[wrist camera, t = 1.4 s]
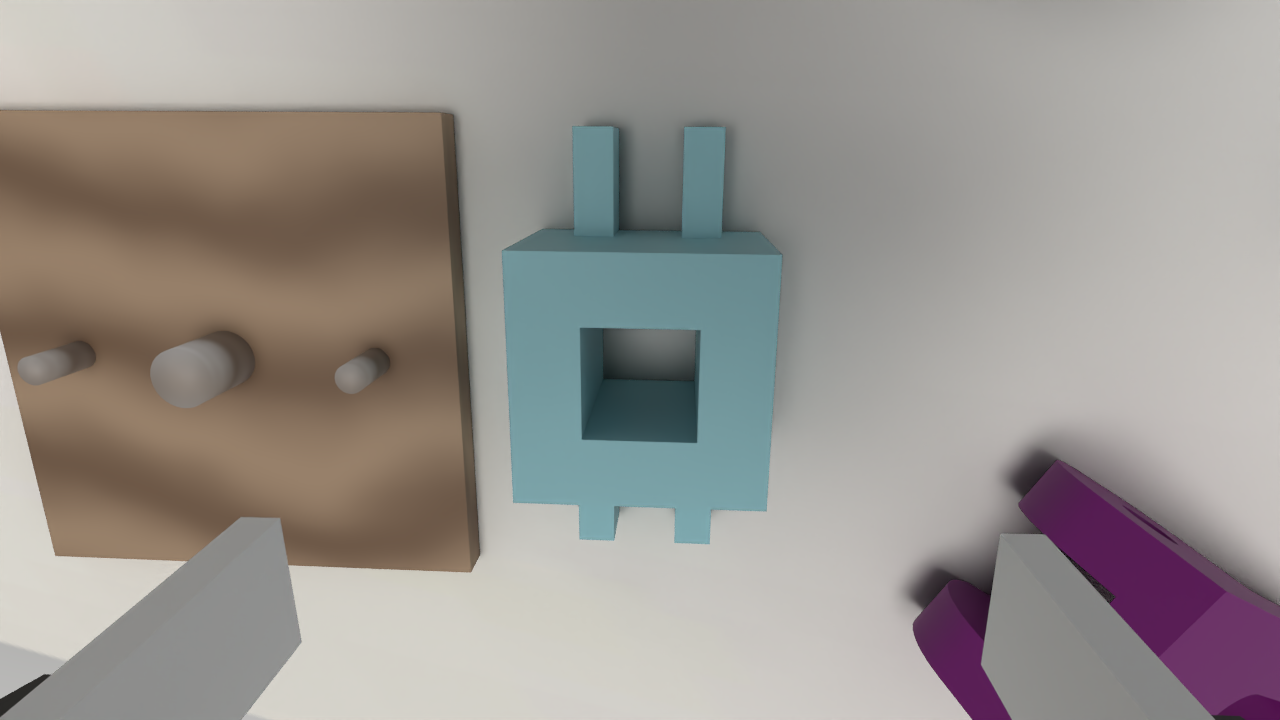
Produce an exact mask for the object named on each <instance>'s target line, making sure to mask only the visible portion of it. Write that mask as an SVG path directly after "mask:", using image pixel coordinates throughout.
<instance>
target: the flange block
mask: <svg viewBox="0 0 1280 720" xmlns="http://www.w3.org/2000/svg"><path fill="white" fill-rule="evenodd" d="M572 130H573V188H574V229H542V230H540V231H538V232H536V233H534V234H532V235H530V236H528V237H527V238H525V239H523V240H521V241H519V242H517V243H515V244H513V245H512V246H510V247H508V248H506V249H504V250H502V265H503V287H504V309H505V331H506V353H507V375H508V397H509V419H510V441H511V463H512V485H513V503H538V504H567V505H579V532H580V539H586V540H613V541H614V539H615V533H616V528H617V522H618V516H619V506H625V507H654V508H675V542H674V543H693V544H710V519H711V510H740V511H767V495H768V479H769V463H770V447H771V431H772V415H773V399H774V383H775V367H776V351H777V335H778V319H779V303H780V287H781V271H782V254H781V253H780V252H779V251H778V250H777V249H776V248H775V247H774V246H773V245H772V244H771V243H770V242H769V241H768V240H767V239H766V238H765V237H764V236H763V235H762V234H761V233H760V232H729V231H722V210H723V184H724V158H725V133H726V127H684V161H683V203H682V231H656V230H619V129H618V128H616V127H613V126H572ZM603 328H627V329H674V330H696V342H695V376H694V381H662V380H622V379H603Z"/></svg>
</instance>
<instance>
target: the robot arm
mask: <svg viewBox="0 0 1280 720" xmlns="http://www.w3.org/2000/svg"><path fill="white" fill-rule="evenodd" d="M301 642H302V641H301V635H300V630H299V624H298V618H297V612H296V607H295V601H294V595H293V589H292V584H291V578H290V572H289V567H288V561H287V555H286V549H285V544H284V538H283V532H282V526H281V521H280V518H258V517H240V518H239V519H238V520H237V521H236V522H234V523H233V524H232V525H231V526H230V527H228V528H227V529H226V530H225V531H224V532H222V533H221V534H220V535H219V536H218V537H216V538H215V539H214V540H213V541H212V542H210V543H209V544H208V545H207V546H206V547H204V548H203V549H202V550H201V551H200V552H198V553H197V554H196V555H195V556H193V557H192V558H191V559H190V560H189V561H187V562H186V563H185V564H184V565H183V566H181V567H180V568H179V569H178V570H177V571H175V572H174V573H173V574H172V575H171V576H169V577H168V578H167V579H166V580H165V581H163V582H162V583H161V584H160V585H159V586H157V587H156V588H155V589H154V590H153V591H151V592H150V593H149V594H148V595H147V596H145V597H144V598H143V599H142V600H141V601H139V602H138V603H137V604H136V605H135V606H133V607H132V608H131V609H130V610H129V611H127V612H126V613H125V614H124V615H123V616H121V617H120V618H119V619H118V620H117V621H115V622H114V623H113V624H112V625H111V626H109V627H108V628H107V629H106V630H105V631H103V632H102V633H101V634H100V635H99V636H97V637H96V638H95V639H94V640H93V641H91V642H90V643H89V644H88V645H87V646H85V647H84V648H83V649H82V650H81V651H79V652H78V653H77V654H76V655H75V656H73V657H72V658H71V659H70V660H69V661H67V662H66V663H65V664H64V665H63V666H61V667H60V668H59V669H58V670H57V671H55V672H54V673H53V674H52V675H46V674H45V675H42V676H41V677H39V678H37V679H35V680H33V681H32V682H30V683H28V684H26V685H24V686H23V687H21V688H19V689H17V690H16V691H14V692H12V693H10V694H8V695H7V696H5V697H3V698H1V699H0V720H241V719H242V718H243V717H244V716H245V714H246V713H247V712H248V711H249V709H250V708H251V707H252V705H253V704H254V703H255V702H256V700H257V699H258V698H259V696H260V695H261V694H262V693H263V691H264V690H265V689H266V687H267V686H268V685H269V684H270V682H271V681H272V680H273V678H274V677H275V676H276V675H277V673H278V672H279V671H280V669H281V668H282V667H283V666H284V664H285V663H286V662H287V660H288V659H289V658H290V656H291V655H292V654H293V653H294V651H295V650H296V649H297V647H298V646H299V645H300V644H301ZM981 666H982V667H983V669H984V671H985V673H986V674H987V676H988V678H989V680H990V682H991V683H992V685H993V687H994V689H995V690H996V692H997V694H998V696H999V698H1000V699H1001V701H1002V703H1003V705H1004V706H1005V708H1006V710H1007V712H1008V714H1009V715H1010V717H1011V719H1012V720H1245V719H1244V718H1242V717H1241V716H1226V715H1210V713H1209V712H1208V711H1207V710H1206V709H1205V708H1204V707H1203V706H1202V705H1201V704H1200V703H1199V701H1198V700H1197V699H1196V698H1195V697H1194V696H1193V695H1192V694H1191V693H1190V692H1189V691H1188V689H1187V688H1186V687H1185V686H1184V685H1183V684H1182V683H1181V682H1180V681H1179V680H1178V679H1177V677H1176V676H1175V675H1174V674H1173V673H1172V672H1171V671H1170V670H1169V669H1168V668H1167V667H1166V665H1165V664H1164V663H1163V662H1162V661H1161V660H1160V659H1159V658H1158V657H1157V656H1156V655H1155V653H1154V652H1153V651H1152V650H1151V649H1150V648H1149V647H1148V646H1147V645H1146V644H1145V643H1144V641H1143V640H1142V639H1141V638H1140V637H1139V636H1138V635H1137V634H1136V633H1135V632H1134V631H1133V629H1132V628H1131V627H1130V626H1129V625H1128V624H1127V623H1126V622H1125V621H1124V620H1123V619H1122V617H1121V616H1120V615H1119V614H1118V613H1117V612H1116V611H1115V610H1114V609H1113V608H1112V607H1111V606H1110V604H1109V603H1108V602H1107V601H1106V600H1105V599H1104V598H1103V597H1102V596H1101V595H1100V594H1099V592H1098V591H1097V590H1096V589H1095V588H1094V587H1093V586H1092V585H1091V584H1090V583H1089V582H1088V580H1087V579H1086V578H1085V577H1084V576H1083V575H1082V574H1081V573H1080V572H1079V571H1078V570H1077V568H1076V567H1075V566H1074V565H1073V564H1072V563H1071V562H1070V561H1069V560H1068V559H1067V558H1066V556H1065V555H1064V554H1063V553H1062V552H1061V551H1060V550H1059V549H1058V548H1057V547H1056V546H1055V544H1054V543H1053V542H1052V541H1051V540H1050V539H1049V538H1048V537H1047V536H1046V535H1045V534H1005V533H1000V538H999V545H998V552H997V559H996V566H995V572H994V579H993V586H992V593H991V600H990V606H989V613H988V620H987V627H986V633H985V640H984V647H983V654H982V661H981Z"/></svg>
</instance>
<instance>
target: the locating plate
mask: <svg viewBox="0 0 1280 720" xmlns="http://www.w3.org/2000/svg"><path fill="white" fill-rule="evenodd" d="M0 332H1V336H2V340H3V344H4V348H5V352H6V356H7V361H8V365H9V369H10V373H11V377H12V381H13V385H14V389H15V393H16V397H17V401H18V405H19V409H20V413H21V418H22V422H23V426H24V430H25V434H26V438H27V442H28V446H29V450H30V454H31V458H32V462H33V466H34V471H35V475H36V479H37V483H38V487H39V491H40V495H41V499H42V503H43V507H44V511H45V515H46V519H47V523H48V528H49V532H50V536H51V540H52V544H53V548H54V552H55V556H72V557H97V558H122V559H147V560H172V561H189V560H190V559H191V558H192V557H193V556H195V555H196V554H197V553H198V552H200V551H201V550H202V549H203V548H204V547H206V546H207V545H208V544H209V543H210V542H212V541H213V540H214V539H215V538H216V537H218V536H219V535H220V534H221V533H222V532H224V531H225V530H226V529H227V528H228V527H230V526H231V525H232V524H233V523H234V522H236V521H237V520H238V519H239V518H240V517H258V518H280V521H281V526H282V532H283V538H284V544H285V549H286V555H287V561H288V565H297V566H322V567H347V568H372V569H398V570H423V571H448V572H471V571H472V569H473V568H474V566H475V564H476V562H477V560H478V558H479V556H480V549H479V532H478V516H477V499H476V483H475V467H474V450H473V434H472V417H471V401H470V384H469V368H468V352H467V335H466V319H465V302H464V286H463V269H462V253H461V237H460V220H459V204H458V187H457V171H456V154H455V138H454V122H453V115H452V114H446V113H423V112H226V111H28V110H0Z"/></svg>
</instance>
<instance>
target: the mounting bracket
mask: <svg viewBox="0 0 1280 720" xmlns="http://www.w3.org/2000/svg"><path fill="white" fill-rule="evenodd" d="M1018 505H1019V507H1020V509H1021V510H1022V512H1023V513H1024V514H1025V515H1026V517H1027V518H1028V519H1029V520H1030V521H1031V522H1032V523H1033V524H1034V525H1035V526H1036V527H1037V528H1038V529H1039V530H1040V531H1041V532H1042V533H1043V534H1045V535H1046V536H1047V537H1048V538H1049V539H1050V540H1051V541H1052V542H1053V543H1054V544H1056V545H1057V546H1058V547H1059V548H1060V549H1061V550H1062V551H1064V552H1065V553H1066V554H1067V555H1068V556H1069V557H1070V558H1072V559H1073V560H1074V561H1075V562H1076V563H1077V564H1078V565H1080V566H1081V567H1082V568H1083V569H1084V570H1085V571H1087V572H1088V573H1089V574H1090V575H1091V576H1092V577H1093V578H1095V579H1096V580H1097V581H1098V582H1099V583H1100V584H1102V585H1103V586H1104V587H1105V588H1106V589H1107V590H1108V591H1110V592H1111V593H1112V594H1113V595H1114V596H1115V598H1114V600H1113V601H1112V602H1111V603H1110V606H1111V607H1112V608H1113V609H1114V610H1115V611H1116V612H1117V613H1118V614H1119V615H1120V616H1121V617H1122V619H1123V620H1124V621H1125V622H1126V623H1127V624H1128V625H1129V626H1130V627H1131V628H1132V629H1133V631H1134V632H1135V633H1136V634H1137V635H1138V636H1139V637H1140V638H1141V639H1142V640H1143V641H1144V643H1145V644H1146V645H1147V646H1148V647H1149V648H1150V649H1151V650H1152V651H1153V652H1154V653H1155V655H1156V656H1157V657H1158V658H1159V659H1160V660H1161V661H1162V662H1163V663H1164V664H1165V665H1166V667H1167V668H1168V669H1169V670H1170V671H1171V672H1172V673H1173V674H1174V675H1175V676H1176V677H1177V679H1178V680H1179V681H1180V682H1181V683H1182V684H1183V685H1184V686H1185V687H1186V688H1187V689H1188V691H1189V692H1190V693H1191V694H1192V695H1193V696H1194V697H1195V698H1196V699H1197V700H1198V701H1199V703H1200V704H1201V705H1202V706H1203V707H1204V708H1205V709H1206V710H1207V711H1208V712H1209V713H1210V715H1226V716H1241V717H1242V718H1244V719H1245V720H1280V606H1279V605H1277V604H1275V603H1273V602H1271V601H1269V600H1267V599H1265V598H1263V597H1262V596H1260V595H1258V594H1256V593H1254V592H1253V591H1251V590H1249V589H1248V588H1246V587H1245V586H1243V585H1242V584H1241V583H1239V582H1238V581H1236V580H1235V579H1233V578H1232V577H1231V576H1229V575H1228V574H1227V573H1225V572H1224V571H1222V570H1221V569H1220V568H1218V567H1217V566H1216V565H1214V564H1213V563H1211V562H1210V561H1209V560H1207V559H1206V558H1205V557H1203V556H1202V555H1200V554H1199V553H1198V552H1196V551H1195V550H1194V549H1192V548H1191V547H1190V546H1188V545H1187V544H1185V543H1184V542H1183V541H1181V540H1180V539H1178V538H1177V537H1176V536H1174V535H1173V534H1172V533H1170V532H1169V531H1167V530H1166V529H1164V528H1163V527H1162V526H1160V525H1159V524H1157V523H1156V522H1155V521H1153V520H1152V519H1150V518H1149V517H1147V516H1146V515H1145V514H1143V513H1142V512H1140V511H1139V510H1137V509H1136V508H1134V507H1133V506H1131V505H1130V504H1129V503H1127V502H1126V501H1124V500H1123V499H1121V498H1120V497H1118V496H1117V495H1115V494H1113V493H1112V492H1110V491H1109V490H1107V489H1106V488H1104V487H1103V486H1101V485H1100V484H1098V483H1096V482H1095V481H1093V480H1092V479H1090V478H1089V477H1087V476H1086V475H1084V474H1082V473H1081V472H1079V471H1078V470H1076V469H1075V468H1073V467H1071V466H1070V465H1068V464H1066V463H1064V462H1062V461H1060V460H1056V461H1055V462H1054V464H1053V465H1052V466H1051V467H1050V468H1049V469H1048V470H1047V472H1046V473H1045V474H1044V475H1043V476H1042V477H1041V478H1040V479H1039V481H1038V482H1037V483H1036V484H1035V485H1034V486H1033V487H1032V488H1031V490H1030V491H1029V492H1028V493H1027V494H1026V495H1025V496H1024V497H1023V499H1022V500H1021V501H1020V502H1019V503H1018ZM990 600H991V596H990V595H988V594H986V593H985V592H983V591H981V590H980V589H978V588H977V587H975V586H973V585H972V584H970V583H968V582H965V581H961V580H955V579H954V580H951V581H949V582H948V583H947V584H946V586H945V587H944V588H943V589H942V590H941V591H940V592H939V593H938V595H937V596H936V597H935V598H934V599H933V600H932V601H931V602H930V604H929V605H928V606H927V607H926V608H925V609H924V610H923V612H922V613H921V614H920V615H919V616H918V617H917V618H916V619H915V621H914V623H913V632H914V636H915V639H916V641H917V643H918V646H919V648H920V649H921V651H922V653H923V655H924V656H925V658H926V660H927V661H928V663H929V664H930V665H931V667H932V668H933V670H934V671H935V672H936V674H937V675H938V676H939V678H940V679H941V680H942V681H943V683H944V684H945V685H946V687H947V688H948V689H949V690H950V692H951V693H952V694H953V695H954V697H955V698H956V699H957V701H958V702H959V703H960V704H961V706H962V707H963V708H964V709H965V711H966V712H967V713H968V715H969V716H970V717H971V718H972V720H1012V719H1011V717H1010V715H1009V714H1008V712H1007V710H1006V708H1005V706H1004V705H1003V703H1002V701H1001V699H1000V698H999V696H998V694H997V692H996V690H995V689H994V687H993V685H992V683H991V682H990V680H989V678H988V676H987V674H986V673H985V671H984V669H983V667H982V666H981V661H982V654H983V647H984V640H985V633H986V627H987V620H988V613H989V606H990Z"/></svg>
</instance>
